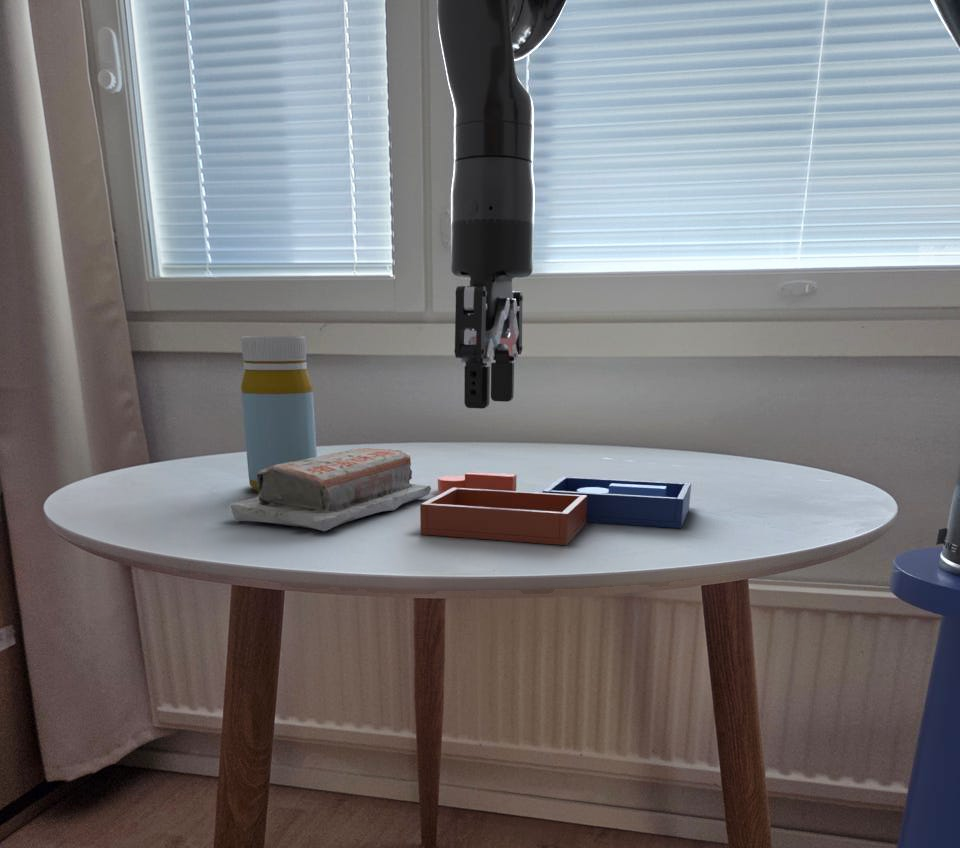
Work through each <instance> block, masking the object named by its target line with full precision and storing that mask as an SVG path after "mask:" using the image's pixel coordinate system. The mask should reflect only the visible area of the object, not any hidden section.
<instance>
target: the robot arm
mask: <svg viewBox="0 0 960 848" xmlns="http://www.w3.org/2000/svg"><path fill="white" fill-rule="evenodd" d="M436 1H437V2H436V13H437V15H436V16H437V27H438V34H439V41H440V45H441V46H440V47H441V52H442V57H443V62H444V67H445V68H444V69H445V72H446V78H447V83H448V88H449V91H450V95H451V99H452V103H453V111H454V113H453V114H454V117H453V173H452V181H451V190H450V191H451V192H450V220H451V221H450V239H451V240H450V269H451V270H450V271H451V273H452V274H453V275H454V276H455V277H461V278H469V284H468V285H457V286H456V289H455V318H454V321H455V322H454V329H455V330H454V350H453V351H454V356H455V359H460V361H461V365H462V366H464V393H463V394H464V396H463V397H464V406H465V407H466V408H468V409H482V410H483V409H487V408H488V407H489V406H490V399H491V401H493V402H508V403H509V402H511V401H512V400H514V393H515V392H514V390H515V389H514V388H515V362H517V360H518V357H519V356H520V355H522V352H523V349H524V348H523V300H524V295H523V292H522V291H521V290H520V291H515V290H513V279H516V278H528V277H529V276H531V274H532V273H533V269H534V267H533V266H534V235H535V204H536V203H535V199H536V198H535V197H536V195H535V194H536V193H535V189H536V188H535V180H534V164H533V162H534V131H535V130H534V129H535V124H534V123H535V114H534V103H533V99H532V97H531V94H530V92H528V90H527V89H526V88H525V86H524V85H523V84H522V83H521V81H520V79H519V77H518V74H517V70H516V63H515V61H519V60H522V59H524V58H525V57H527V56H528V55H530V54H531V53H533V52H534V51H535V50H536V49H537V48H538V47H539V46H540V45H542V43H543V42H544V41H545V39H547V37H548V36H549V34H550V33H551V32H552V30H553V28H554V27H555V25H556V23H557V21H558V19H559V18H560V16H561V14H562V11H563V9H564V7H565V5H566V4H567V1H568V0H436ZM929 2H930V3H931V4H932V6H933V8H934V10H935V12H936V14H937V16H938V18H939V19H940V21H941V22H942V25H943V26H944V27H945V29H946V31H947V32H948V34H949V36H950V38H951V39H952V41H953V42H954V44H955V46H956V47H957V50H959V52H960V0H929ZM491 361H492V362H491ZM949 509H950V510H949V515H948V521H947V527H944V528H938V533H937V539H936V543H935V545H942V547H943V551H942V552H941V555H940V560H939V566H940V567H941V568H942V569H944V570H945V571H947V572H949V573H952V574H954V575H957V576H960V462H959V463H958V468H957V474H956V478H955V484H954V490H953V494H952V500H951V505H950V508H949Z"/></svg>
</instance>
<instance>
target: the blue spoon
mask: <svg viewBox="0 0 960 848" xmlns="http://www.w3.org/2000/svg"><path fill="white" fill-rule="evenodd" d="M577 492H588V493H605V494H622V495H640V496H657V497H666V493H667V486H653V485H634V484H616V483H611V484H610V485H609V489H606V488H599V487H586V488H579V489H577Z"/></svg>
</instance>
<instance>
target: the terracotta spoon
mask: <svg viewBox="0 0 960 848" xmlns="http://www.w3.org/2000/svg"><path fill="white" fill-rule="evenodd" d="M451 488H470V489H487V490H504V491H517V474H515V473H496V472H479V471H468V472H466V473H464V475H444V476H440V477H438V478H437V495H439V494H441V493H443V492H445V491H447V490H449V489H451Z"/></svg>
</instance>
